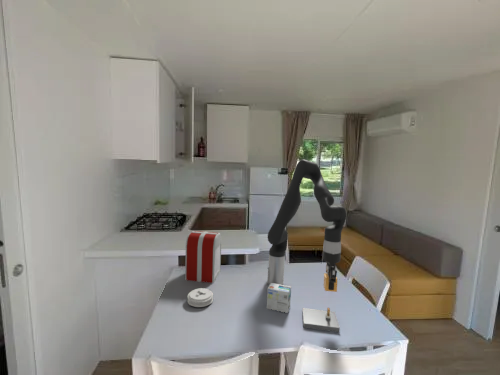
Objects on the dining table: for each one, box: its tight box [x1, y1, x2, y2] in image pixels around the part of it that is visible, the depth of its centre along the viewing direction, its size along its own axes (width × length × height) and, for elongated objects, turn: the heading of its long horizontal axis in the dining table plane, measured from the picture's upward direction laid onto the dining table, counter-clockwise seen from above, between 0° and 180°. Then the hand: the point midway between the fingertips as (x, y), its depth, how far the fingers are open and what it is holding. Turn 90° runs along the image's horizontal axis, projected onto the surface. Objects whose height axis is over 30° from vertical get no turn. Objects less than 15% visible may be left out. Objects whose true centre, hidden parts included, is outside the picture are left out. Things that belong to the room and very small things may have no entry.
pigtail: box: [326, 307, 331, 320], centre depth 117 cm, size 2×2×4 cm
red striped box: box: [184, 230, 222, 284], centre depth 158 cm, size 16×18×27 cm
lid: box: [187, 287, 214, 308], centre depth 131 cm, size 13×13×5 cm
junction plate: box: [301, 307, 341, 333], centre depth 118 cm, size 15×12×2 cm
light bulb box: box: [266, 283, 292, 314], centre depth 127 cm, size 11×7×11 cm, turn 71°
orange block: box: [323, 272, 338, 293], centre depth 117 cm, size 5×5×6 cm
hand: (330, 286), depth 117 cm, fingers closed on orange block, 5 cm apart
